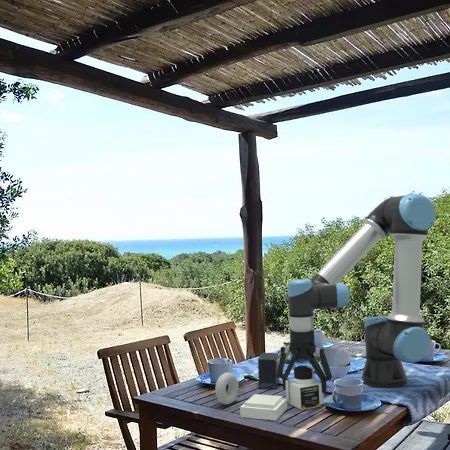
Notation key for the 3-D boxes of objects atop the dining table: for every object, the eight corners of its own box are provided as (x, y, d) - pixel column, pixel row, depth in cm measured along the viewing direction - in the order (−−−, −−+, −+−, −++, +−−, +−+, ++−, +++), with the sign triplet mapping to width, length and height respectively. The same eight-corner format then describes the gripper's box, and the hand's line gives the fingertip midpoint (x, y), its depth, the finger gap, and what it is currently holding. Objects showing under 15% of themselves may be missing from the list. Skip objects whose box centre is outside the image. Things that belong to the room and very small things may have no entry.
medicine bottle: (301, 410, 164) (299, 370, 164) (289, 404, 171) (287, 365, 171) (321, 406, 167) (319, 367, 167) (308, 400, 174) (307, 362, 174)
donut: (233, 399, 179) (232, 368, 179) (241, 400, 177) (240, 369, 177) (213, 407, 171) (212, 375, 171) (222, 409, 169) (220, 377, 169)
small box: (277, 389, 188) (275, 359, 188) (258, 389, 189) (256, 358, 189) (280, 381, 198) (278, 352, 198) (262, 381, 199) (261, 352, 200)
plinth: (287, 408, 167) (286, 395, 167) (276, 420, 156) (275, 406, 157) (253, 405, 171) (252, 392, 171) (240, 417, 161) (240, 403, 161)
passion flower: (299, 373, 229) (315, 350, 228) (290, 374, 219) (307, 350, 218) (279, 355, 234) (294, 333, 233) (269, 356, 225) (285, 333, 224)
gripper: (340, 328, 168) (343, 400, 168) (271, 326, 177) (274, 395, 177) (335, 332, 162) (338, 408, 161) (263, 330, 170) (266, 402, 170)
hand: (305, 401), depth 169 cm, fingers closed on medicine bottle, 10 cm apart
